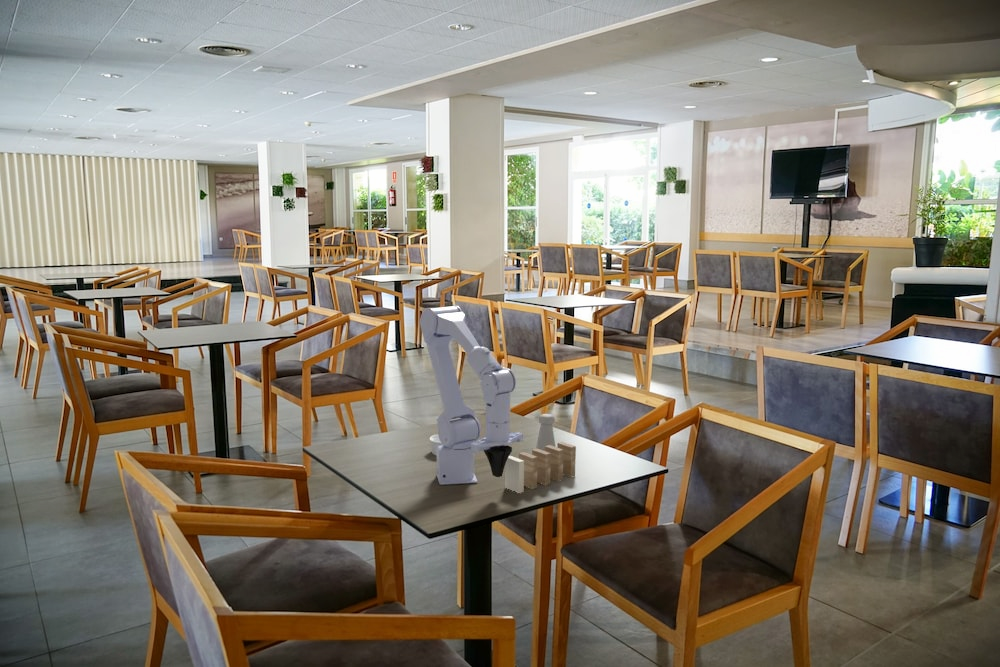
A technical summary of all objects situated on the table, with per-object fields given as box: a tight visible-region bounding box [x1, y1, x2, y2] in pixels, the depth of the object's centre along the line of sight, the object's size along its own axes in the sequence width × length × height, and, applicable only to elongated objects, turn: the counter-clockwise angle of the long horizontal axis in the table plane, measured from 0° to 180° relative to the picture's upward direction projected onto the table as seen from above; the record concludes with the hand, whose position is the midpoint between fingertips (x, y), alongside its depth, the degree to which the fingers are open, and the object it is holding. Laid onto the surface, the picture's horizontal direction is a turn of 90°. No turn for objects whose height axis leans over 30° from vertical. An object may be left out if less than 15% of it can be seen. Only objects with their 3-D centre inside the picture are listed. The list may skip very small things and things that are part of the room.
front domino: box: [504, 455, 524, 494], centre depth 187 cm, size 2×5×8 cm, turn 41°
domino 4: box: [557, 441, 577, 478], centre depth 199 cm, size 2×5×8 cm, turn 41°
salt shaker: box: [535, 413, 556, 451], centre depth 209 cm, size 6×6×13 cm
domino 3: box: [545, 445, 564, 482], centre depth 196 cm, size 2×5×8 cm, turn 41°
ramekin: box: [429, 433, 443, 457], centre depth 216 cm, size 9×9×4 cm
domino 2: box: [531, 448, 551, 486], centre depth 193 cm, size 2×5×8 cm, turn 41°
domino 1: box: [518, 451, 538, 490], centre depth 190 cm, size 2×5×8 cm, turn 41°
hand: (497, 475), depth 183 cm, fingers closed
